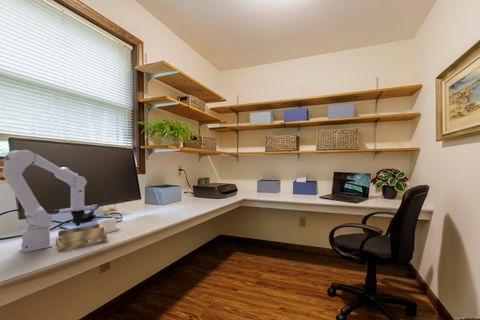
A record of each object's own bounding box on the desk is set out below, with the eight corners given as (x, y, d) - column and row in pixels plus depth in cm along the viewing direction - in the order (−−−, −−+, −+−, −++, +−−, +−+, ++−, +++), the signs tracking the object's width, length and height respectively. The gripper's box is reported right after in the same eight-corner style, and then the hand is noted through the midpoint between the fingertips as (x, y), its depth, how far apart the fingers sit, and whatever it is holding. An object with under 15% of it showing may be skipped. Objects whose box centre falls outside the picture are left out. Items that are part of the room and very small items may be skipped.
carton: (58, 252, 97) (58, 245, 97) (55, 244, 106) (55, 237, 106) (107, 241, 110) (107, 234, 110) (100, 235, 119) (100, 228, 119)
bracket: (111, 229, 133) (110, 217, 133) (119, 229, 128) (118, 217, 128) (71, 239, 116) (70, 226, 117) (78, 240, 111) (77, 226, 112)
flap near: (61, 244, 98) (61, 243, 98) (60, 235, 99) (60, 234, 99) (104, 234, 109) (104, 234, 109) (103, 227, 111) (103, 226, 111)
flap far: (58, 231, 105) (58, 230, 105) (58, 237, 107) (58, 236, 107) (99, 223, 116) (99, 223, 117) (98, 229, 118) (98, 228, 118)
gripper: (60, 202, 108) (60, 230, 108) (95, 198, 118) (95, 224, 118) (58, 200, 113) (59, 227, 113) (92, 196, 123) (92, 221, 123)
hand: (77, 225), depth 116 cm, fingers closed
